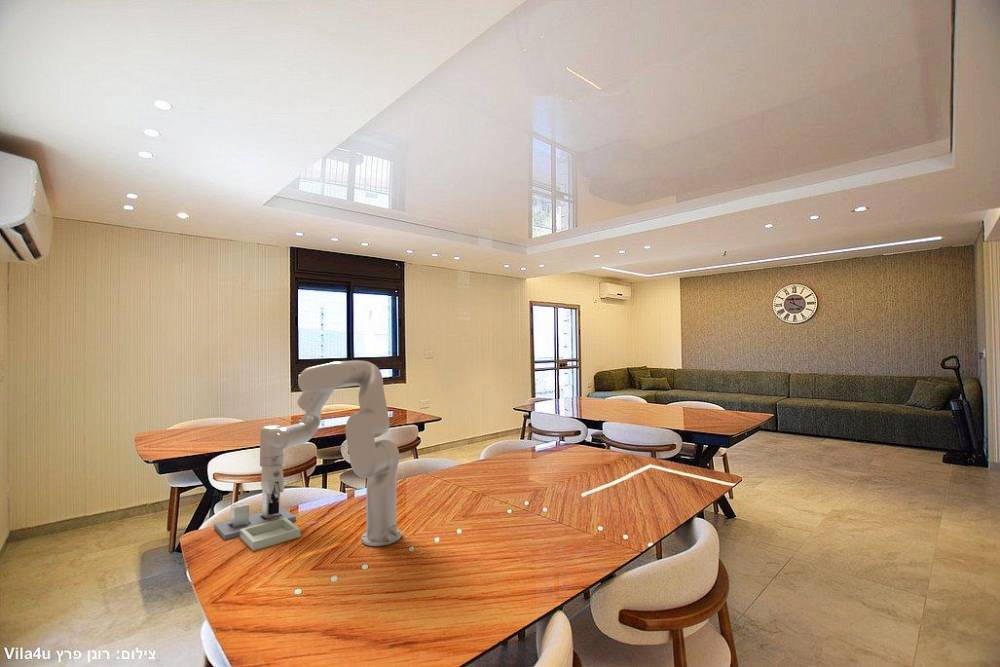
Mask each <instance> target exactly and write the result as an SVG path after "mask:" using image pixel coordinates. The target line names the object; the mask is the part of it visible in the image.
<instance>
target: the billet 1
mask: <svg viewBox="0 0 1000 667" xmlns="http://www.w3.org/2000/svg"><path fill="white" fill-rule="evenodd" d="M249 515H250V504H249V503H247V502H246V501H243V502H239V503H233V504H230V520H231V529H235V528H238V527H242V526H246V525H249Z"/></svg>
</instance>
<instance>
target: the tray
mask: <svg viewBox="0 0 1000 667" xmlns="http://www.w3.org/2000/svg"><path fill="white" fill-rule="evenodd" d="M301 530H302V529H301V527H299V526H298V525H296V524H295V523H293V522H291V521H289V520H288V519H287V518H281V519H277V520H274V521H270V522H266V523H262V524H258V525H255V526H251V527H247V528H243V529H240V536H239V538H240V539H241V540H242V541H243V543H244V544H245V545H246V546H248V548H249V549H250V550H251V551H252V552H254V551H257V550H260V549H264V548H266V547H271V546H274V545H277V544H281V543H283V542H287V541H292V540H294V539H298V538H301Z"/></svg>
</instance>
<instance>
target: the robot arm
mask: <svg viewBox="0 0 1000 667" xmlns="http://www.w3.org/2000/svg"><path fill="white" fill-rule="evenodd" d="M297 382H298V383H297V384H298V387H299V389H300V390H301V391H302V392H301V394H300V396H299V397H298V399H297V405H298V407H299V409H301V410H302V411H303V412H305V413H304V416H303V417H302V418H301V419H300V421H299V422H298V423H295V424H291V425H286V426H283V425H279V424H269V425H265V426H262V427H261V428H260V431H259V437H260V438H259V441H260V442H259V467H261V476H260V480H261V481H260V482H261V483H260V484H261V485H260V487H261V490H262V491H263V490H264V491H266V492H267V494H269V496H270V503H269V515H272V514H276V513H278V512H279V497H280V498H281V493H284V490H285V484H284V483H285V480H284V468H283V467H284V466H283V464H284V450H286V449H289V448H293V447H295V446H300V445H303V444H306V443H307V442H309V441H310V440H311V439H312V438H313V436H314V435H315V433H316V432H317V430H318V429H319V427H320V425H321V421H322V409H323V407H324V406H325V404H326V403H327V401H328V400H329V398H330V396H331V395H332V393H333V392H334V391H335V389H341V388H347V387H348V388H349V387H353V386H359V387H360V388H359V391H358V405H359V411H356V412H354V413H353V414H351V415H350V416H349V418H348V419H347V421H346V424H345V428H344V429H345V432H344V433H345V439H346V446H347V451H348V457H349V463H350V466H351V469H352V471H353V472H354V474H355V475H356V476H357V477H360V478H365V479H367V480H366V491H365V492H366V498H365V499H366V503H365V504H366V508H365V509H366V515H365V516H366V517H365V518H366V520H365V521H366V522H365V524H366V528H365V530H366V531H365V532H364V533H363V534H362V535H361V542H362V544H364V545H366V546H370V547H384V546H388V545H391V544H393V543H396V542H398V541H400V539H401V537H402V531H401V530H400V529H399V528H398V525H397V475H398V466H399V460H400V451H399V448H398V446H397V445H396V443H394V442H393V441H392V440H389V439H381V440H376V439H377V438H379V437H381V436H383V435H385V434H387V432H388V431H389V429H390V423H391V422H390V417H389V411H388V406H387V400H386V395H385V389H384V379H383V375H382V372H381V370H380V369H379V367H378V366H377V365H376V364H374V363H372V362H370V361H367V360H359V359H358V360H342V361H332V362H329V363H324V364H319V365H315V366H314V365H313V366H309V367H307V368H305V369H304V370H302V371H301V372H300V374H299V376H298V380H297ZM279 489H280V490H279ZM272 492H275V493H273V494H272ZM273 495H275V496H273ZM272 496H273V498H272Z"/></svg>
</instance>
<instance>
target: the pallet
mask: <svg viewBox="0 0 1000 667" xmlns="http://www.w3.org/2000/svg"><path fill="white" fill-rule="evenodd" d="M281 518H287V519H288V520H289V521H291V522H292V523H293V522H296V521H297V517H296V515H294V514H293V513H291V511H288V510H287V509H286V508H285V507H283V506H280V515H278V516H274V517H272V518H268V519H266V518H265V517H264V516H263V515H262V511H260V512H256V513H251V514H249V525H246V526H242V527H238V528H235V529H231V519H228V520H223V521H219V522H215V523H213V531H216V532H217V533H218V534H219V535H220V537H221V538H222V539H223V540H224V541H227V540H231V539H235V538H240V529H243V528H247V527H251V526H255V525H258V524H262V523H266V522H270V521H274V520H277V519H281Z"/></svg>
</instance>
